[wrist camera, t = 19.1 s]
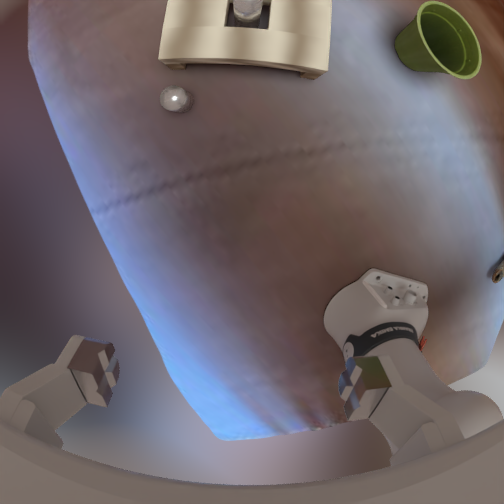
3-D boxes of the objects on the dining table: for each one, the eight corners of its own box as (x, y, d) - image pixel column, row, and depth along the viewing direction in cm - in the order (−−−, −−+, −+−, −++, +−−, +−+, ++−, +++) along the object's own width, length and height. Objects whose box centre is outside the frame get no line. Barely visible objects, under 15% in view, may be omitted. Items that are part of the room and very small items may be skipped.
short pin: (194, 91, 34) (186, 85, 29) (192, 112, 36) (184, 110, 30) (172, 91, 34) (160, 85, 29) (170, 112, 35) (158, 110, 30)
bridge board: (319, 1, 28) (332, -17, 22) (314, 79, 34) (327, 71, 28) (184, -9, 27) (174, -29, 21) (172, 69, 33) (158, 59, 26)
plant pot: (434, 30, 28) (474, 17, 18) (441, 90, 33) (485, 88, 23) (376, 12, 28) (410, -11, 18) (384, 77, 33) (424, 66, 23)
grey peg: (262, 25, 30) (269, -10, 19) (250, 41, 31) (253, 9, 20) (243, 16, 29) (243, -21, 19) (231, 31, 31) (226, -2, 20)
